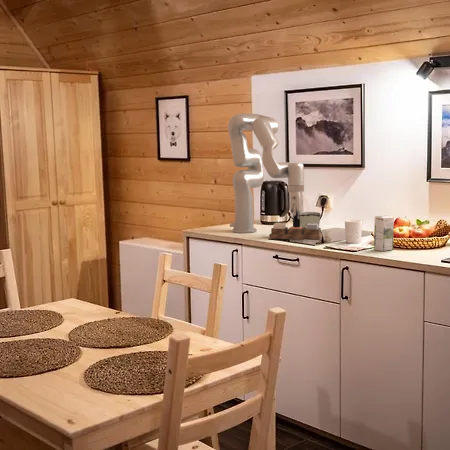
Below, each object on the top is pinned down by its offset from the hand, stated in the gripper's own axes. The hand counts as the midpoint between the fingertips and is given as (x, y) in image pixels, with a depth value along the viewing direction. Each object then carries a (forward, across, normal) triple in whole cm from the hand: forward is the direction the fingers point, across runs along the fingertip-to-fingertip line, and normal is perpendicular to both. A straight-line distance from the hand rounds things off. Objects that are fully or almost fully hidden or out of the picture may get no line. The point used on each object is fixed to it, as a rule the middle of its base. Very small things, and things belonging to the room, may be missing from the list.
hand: (296, 227), depth 330 cm
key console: (+5, 0, 0) cm, 5 cm away
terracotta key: (+3, 0, 0) cm, 3 cm away
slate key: (+2, 0, -8) cm, 8 cm away
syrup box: (+6, -29, -42) cm, 52 cm away
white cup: (+6, -10, -28) cm, 30 cm away
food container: (+5, +20, -3) cm, 21 cm away
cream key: (+1, 0, +8) cm, 8 cm away
